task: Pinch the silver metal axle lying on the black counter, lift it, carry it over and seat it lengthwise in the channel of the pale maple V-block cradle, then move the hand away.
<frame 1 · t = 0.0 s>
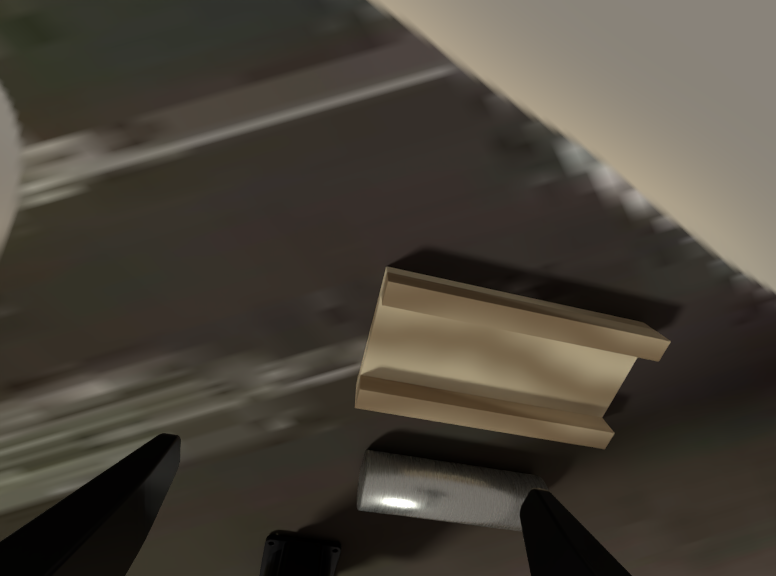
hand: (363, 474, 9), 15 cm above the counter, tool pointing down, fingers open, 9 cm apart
axle: (447, 469, 30), on the counter
cradle: (497, 353, 25), on the counter
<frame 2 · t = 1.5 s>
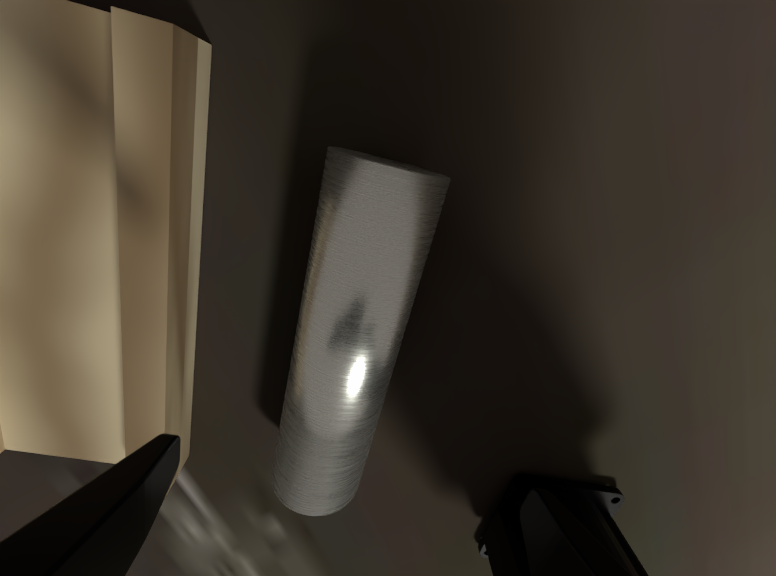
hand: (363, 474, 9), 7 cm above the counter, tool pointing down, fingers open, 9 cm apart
axle: (365, 326, 16), on the counter, tilted 21°
cradle: (79, 272, 14), on the counter
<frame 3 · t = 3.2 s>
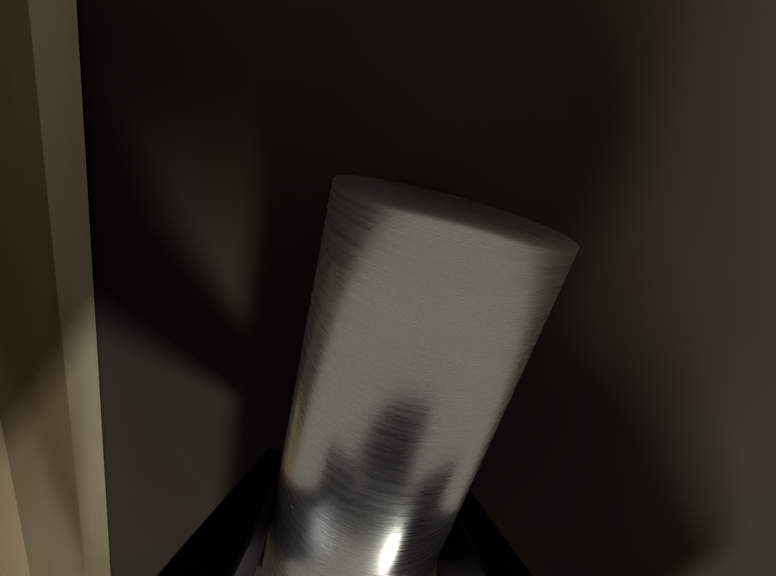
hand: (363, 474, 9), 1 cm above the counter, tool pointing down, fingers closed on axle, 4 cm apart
axle: (364, 435, 10), on the counter, touching gripper
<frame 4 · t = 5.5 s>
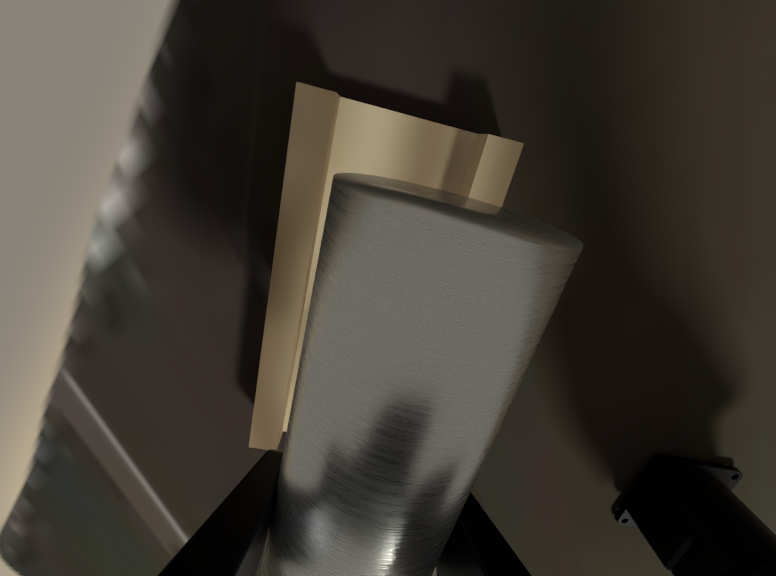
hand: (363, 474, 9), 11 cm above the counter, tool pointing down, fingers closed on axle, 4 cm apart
axle: (365, 435, 10), point 10 cm above the counter, touching gripper
cradle: (365, 297, 20), on the counter
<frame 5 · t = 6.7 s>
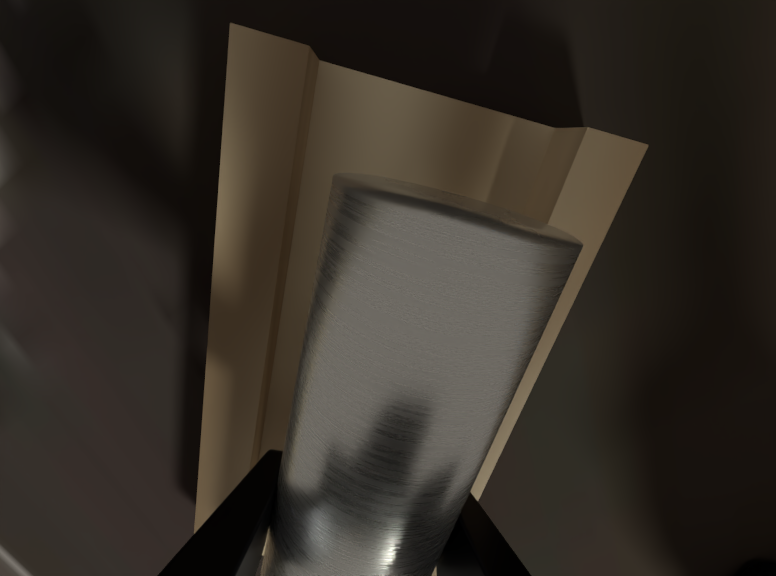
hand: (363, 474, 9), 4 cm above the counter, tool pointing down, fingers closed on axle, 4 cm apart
axle: (364, 435, 10), point 3 cm above the counter, touching gripper
cradle: (363, 373, 13), on the counter
when the fingers open (3 cm above the counter, at t = 7.6 s): axle drops 1 cm, resting on cradle.
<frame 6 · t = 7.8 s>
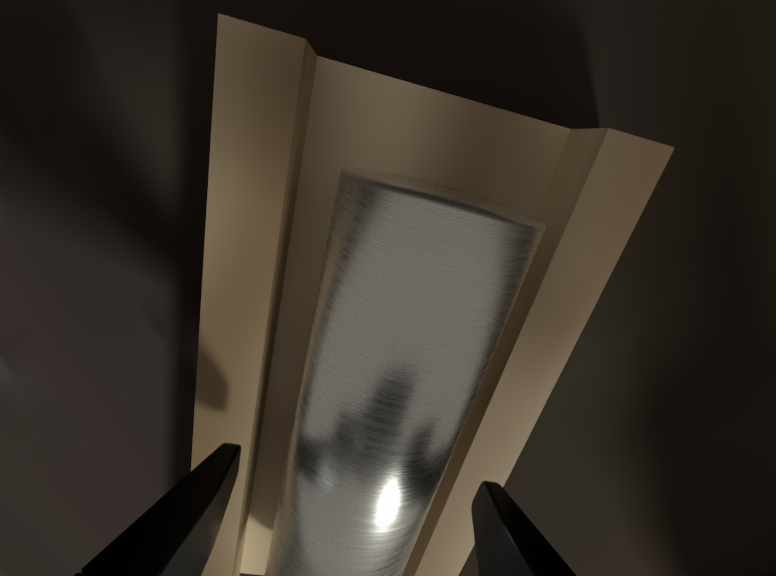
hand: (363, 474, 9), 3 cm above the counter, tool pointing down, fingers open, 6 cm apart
axle: (366, 405, 12), point 1 cm above the counter, touching cradle
cradle: (364, 386, 12), on the counter
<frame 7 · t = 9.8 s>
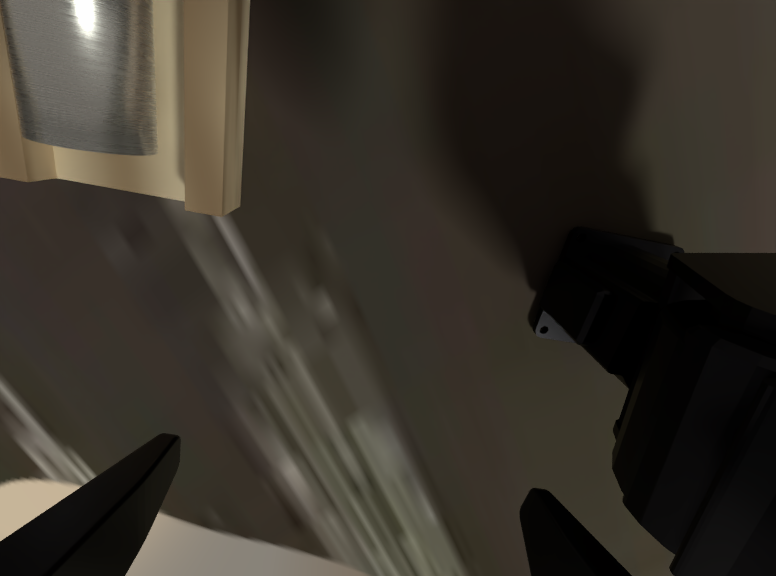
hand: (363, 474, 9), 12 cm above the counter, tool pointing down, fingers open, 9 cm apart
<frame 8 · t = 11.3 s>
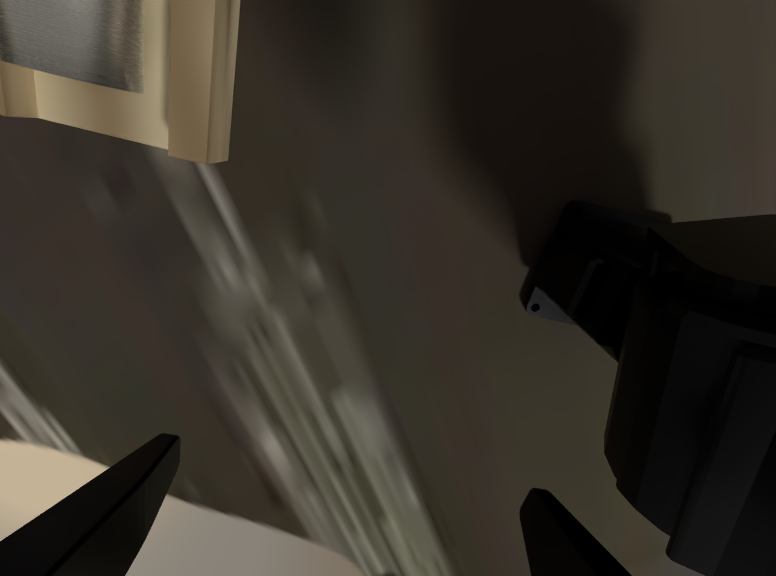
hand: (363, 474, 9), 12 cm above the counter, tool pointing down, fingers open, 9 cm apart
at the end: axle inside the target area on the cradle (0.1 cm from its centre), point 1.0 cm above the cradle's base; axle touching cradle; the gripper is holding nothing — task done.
